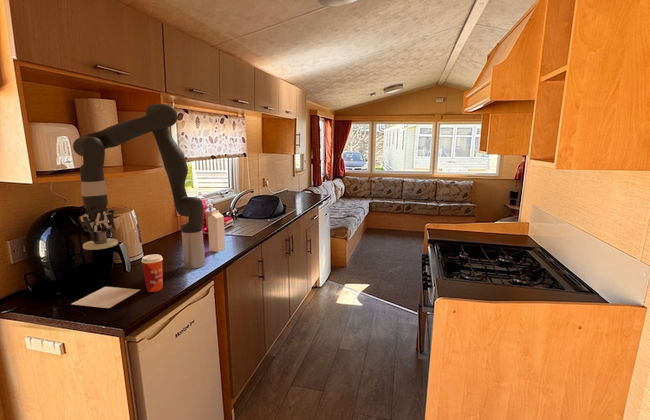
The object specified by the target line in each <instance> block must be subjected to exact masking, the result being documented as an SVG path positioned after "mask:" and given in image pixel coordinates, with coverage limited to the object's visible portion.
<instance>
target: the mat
mask: <svg viewBox="0 0 650 420" xmlns="http://www.w3.org/2000/svg"><path fill="white" fill-rule="evenodd" d="M139 291H141V289H137V288H136V289H134V288H125V287H114V286H104V287H101V288H100V289H98V290H95V291H94V292H92V293H89V294H88V295H86V296H84V297H82V298H80V299H78V300H77V301H74V302H72V303H71V305H75V306H82V307H84V306H85V307H95V308H101V309H102V308H103V309H110V308H112V307H114V306H115V305H117V304H119V303H120V302H122V301H124V300H126V299H127V298H130V297H132V296H133V295H134V294H136V293H137V292H139Z"/></svg>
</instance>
